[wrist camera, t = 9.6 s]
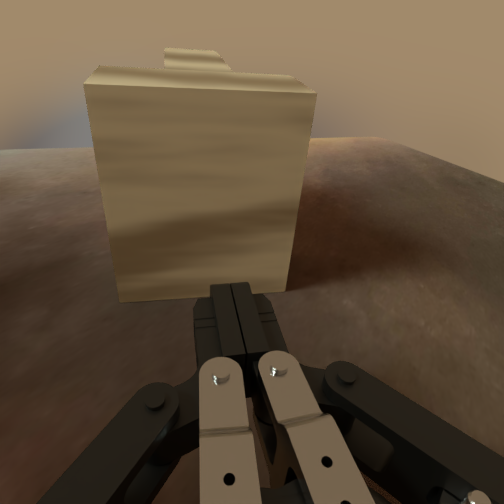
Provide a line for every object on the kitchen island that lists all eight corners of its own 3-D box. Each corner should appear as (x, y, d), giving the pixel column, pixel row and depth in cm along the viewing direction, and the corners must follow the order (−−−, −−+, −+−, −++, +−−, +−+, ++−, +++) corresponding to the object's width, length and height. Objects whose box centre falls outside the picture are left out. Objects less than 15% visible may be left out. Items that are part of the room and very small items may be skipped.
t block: (285, 291, 26) (317, 93, 19) (119, 302, 24) (83, 83, 17) (247, 196, 38) (257, 53, 31) (135, 198, 36) (117, 44, 29)
